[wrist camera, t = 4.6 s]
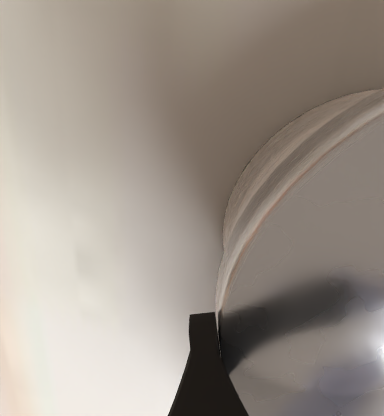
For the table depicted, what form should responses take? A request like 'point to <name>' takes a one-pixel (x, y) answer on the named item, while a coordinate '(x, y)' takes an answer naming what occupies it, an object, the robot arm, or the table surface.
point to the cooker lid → (311, 277)
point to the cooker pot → (281, 154)
